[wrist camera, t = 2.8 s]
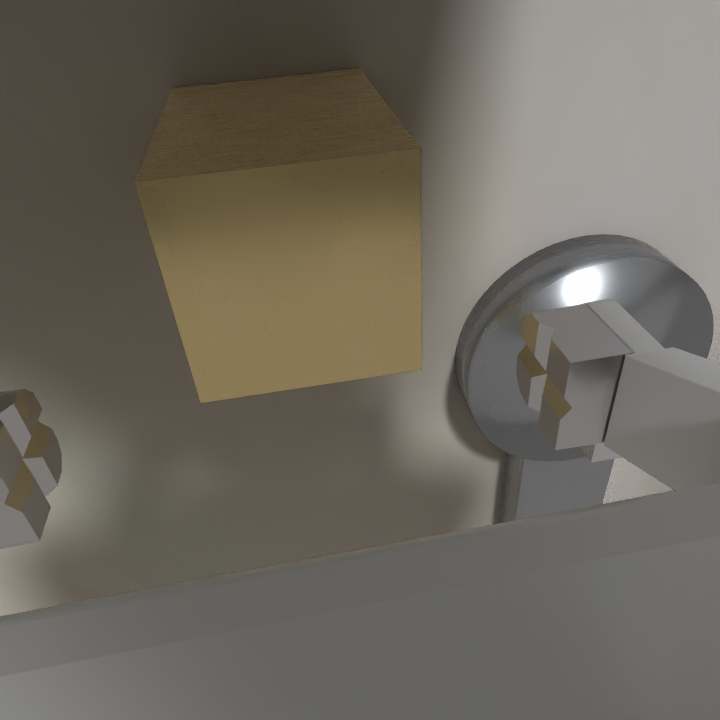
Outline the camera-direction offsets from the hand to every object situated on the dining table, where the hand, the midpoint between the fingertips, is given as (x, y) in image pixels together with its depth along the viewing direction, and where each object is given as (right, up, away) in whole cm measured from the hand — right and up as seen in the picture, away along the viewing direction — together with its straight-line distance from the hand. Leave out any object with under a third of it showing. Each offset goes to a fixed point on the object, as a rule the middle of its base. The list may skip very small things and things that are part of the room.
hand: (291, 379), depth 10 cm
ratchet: (+10, -6, +18) cm, 22 cm away
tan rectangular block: (-1, +6, +7) cm, 9 cm away
